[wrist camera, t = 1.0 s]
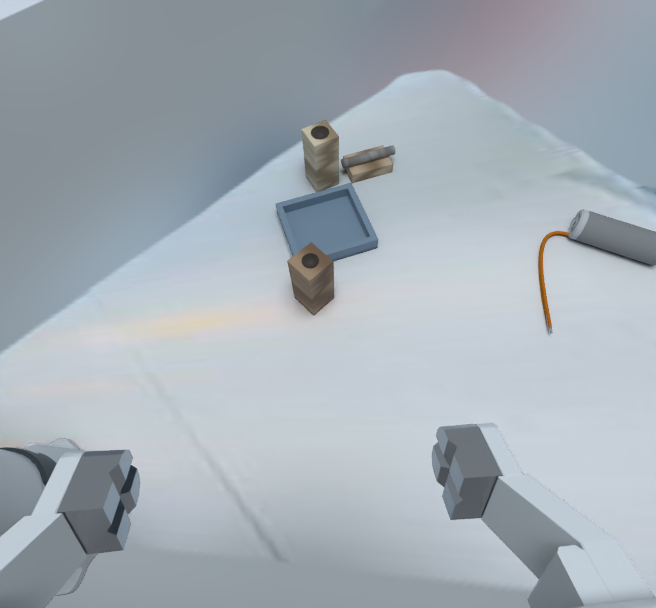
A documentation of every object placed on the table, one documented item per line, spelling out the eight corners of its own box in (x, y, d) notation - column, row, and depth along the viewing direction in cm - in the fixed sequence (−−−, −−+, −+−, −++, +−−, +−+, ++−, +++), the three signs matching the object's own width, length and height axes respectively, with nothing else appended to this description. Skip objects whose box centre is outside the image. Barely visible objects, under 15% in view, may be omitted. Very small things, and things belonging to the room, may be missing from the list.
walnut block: (313, 315, 67) (309, 280, 57) (294, 297, 69) (287, 260, 59) (334, 297, 69) (333, 260, 59) (315, 280, 70) (311, 241, 60)
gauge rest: (347, 184, 79) (347, 170, 76) (338, 165, 81) (338, 150, 78) (396, 170, 80) (399, 156, 77) (386, 152, 82) (388, 137, 79)
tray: (298, 271, 71) (297, 263, 69) (277, 212, 76) (275, 203, 74) (377, 248, 73) (378, 239, 70) (350, 192, 78) (351, 182, 76)
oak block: (317, 193, 78) (314, 145, 68) (306, 176, 80) (301, 128, 70) (338, 183, 79) (338, 135, 69) (327, 167, 81) (325, 118, 71)
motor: (550, 211, 75) (562, 196, 71) (686, 255, 71) (709, 241, 66) (509, 329, 70) (520, 321, 65) (654, 384, 65) (677, 380, 60)
